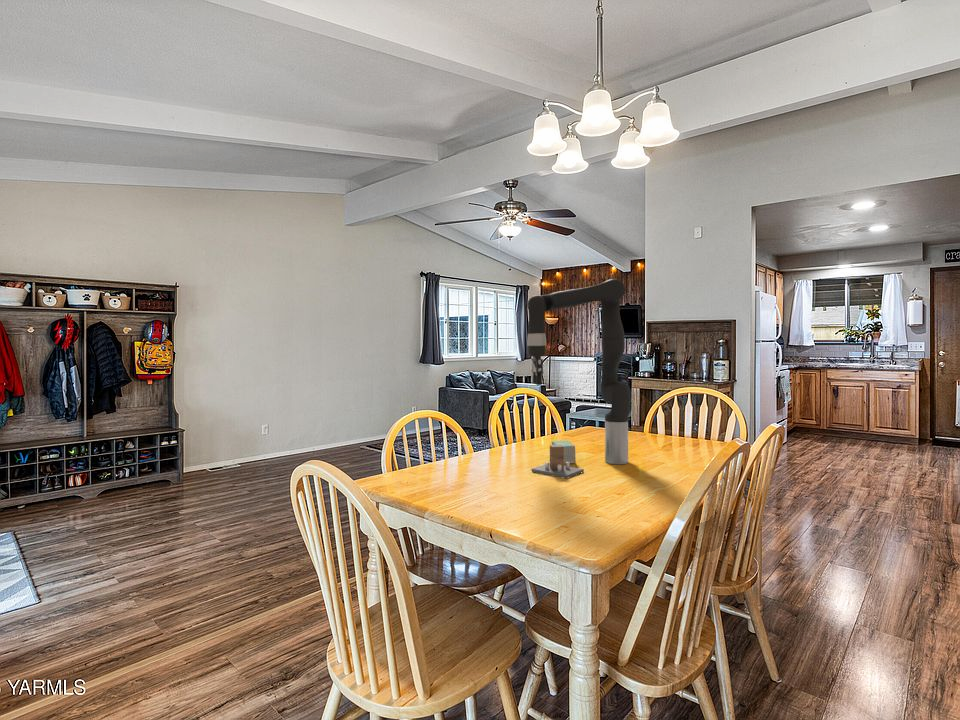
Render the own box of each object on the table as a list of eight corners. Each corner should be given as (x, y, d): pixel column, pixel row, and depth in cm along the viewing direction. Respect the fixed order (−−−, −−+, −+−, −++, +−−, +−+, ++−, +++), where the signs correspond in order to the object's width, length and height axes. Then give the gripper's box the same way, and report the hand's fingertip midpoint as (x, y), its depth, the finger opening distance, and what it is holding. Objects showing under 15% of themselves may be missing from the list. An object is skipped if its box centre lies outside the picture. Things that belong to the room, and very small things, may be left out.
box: (568, 456, 236) (567, 439, 235) (576, 463, 222) (575, 445, 222) (551, 457, 235) (551, 440, 235) (558, 464, 222) (558, 446, 221)
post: (549, 467, 211) (549, 444, 210) (561, 467, 211) (561, 444, 211) (552, 470, 206) (551, 447, 206) (563, 470, 206) (563, 446, 206)
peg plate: (548, 466, 218) (548, 457, 218) (583, 472, 208) (583, 462, 208) (531, 471, 209) (531, 462, 209) (566, 478, 199) (566, 468, 199)
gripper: (548, 344, 215) (549, 385, 215) (542, 344, 229) (543, 382, 229) (530, 345, 214) (530, 385, 215) (525, 344, 228) (525, 383, 229)
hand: (537, 384), depth 222 cm, fingers open, 8 cm apart
